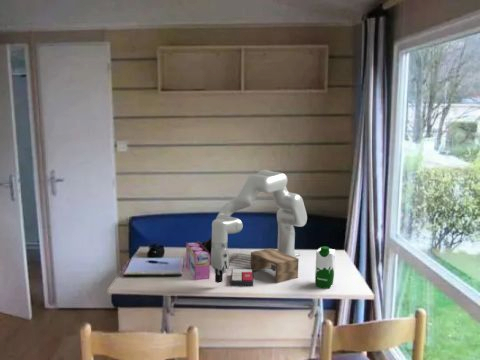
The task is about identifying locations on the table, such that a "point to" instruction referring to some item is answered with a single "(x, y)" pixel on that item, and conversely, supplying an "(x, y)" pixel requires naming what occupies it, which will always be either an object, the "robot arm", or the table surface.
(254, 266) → the tan block
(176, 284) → the table surface
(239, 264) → the table surface
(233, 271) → the calculator
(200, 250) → the gum box
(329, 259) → the milk carton
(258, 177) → the robot arm
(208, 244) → the letter holder
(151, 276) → the table surface
